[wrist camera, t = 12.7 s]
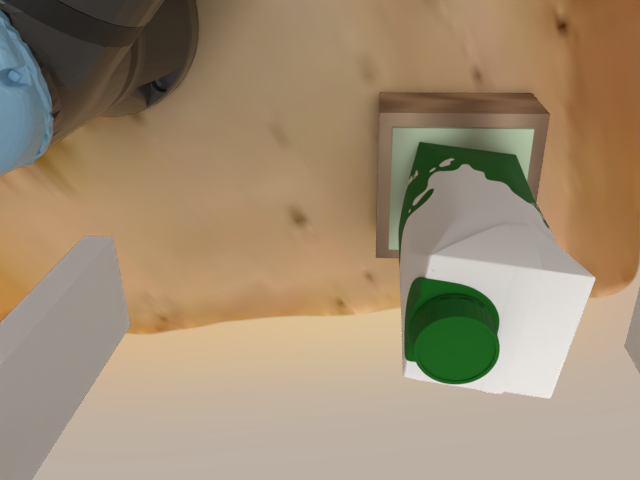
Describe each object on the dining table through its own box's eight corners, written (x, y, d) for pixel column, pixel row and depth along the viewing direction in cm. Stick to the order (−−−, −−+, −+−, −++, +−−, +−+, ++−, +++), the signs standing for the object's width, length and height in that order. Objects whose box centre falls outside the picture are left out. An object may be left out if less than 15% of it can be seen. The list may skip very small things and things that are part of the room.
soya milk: (408, 127, 44) (423, 263, 27) (534, 144, 44) (633, 293, 26) (389, 234, 48) (390, 413, 31) (503, 250, 48) (571, 441, 30)
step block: (376, 225, 55) (375, 259, 49) (380, 92, 50) (379, 114, 44) (513, 228, 54) (528, 264, 48) (532, 93, 48) (551, 115, 43)
